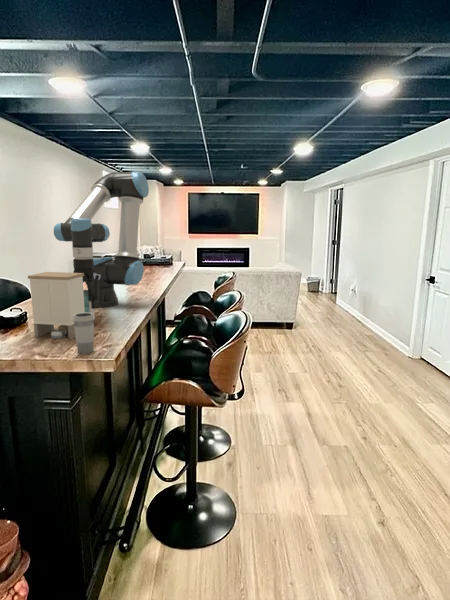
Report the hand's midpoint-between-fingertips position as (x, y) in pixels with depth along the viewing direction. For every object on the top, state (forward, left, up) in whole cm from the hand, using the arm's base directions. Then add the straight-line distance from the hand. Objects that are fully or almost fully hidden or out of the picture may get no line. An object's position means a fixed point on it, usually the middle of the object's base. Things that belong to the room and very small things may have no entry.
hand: (86, 315), depth 158 cm
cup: (+33, +17, -3) cm, 38 cm away
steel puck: (+20, 0, -3) cm, 21 cm away
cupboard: (+17, -1, -3) cm, 18 cm away
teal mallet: (+8, 0, -2) cm, 8 cm away
